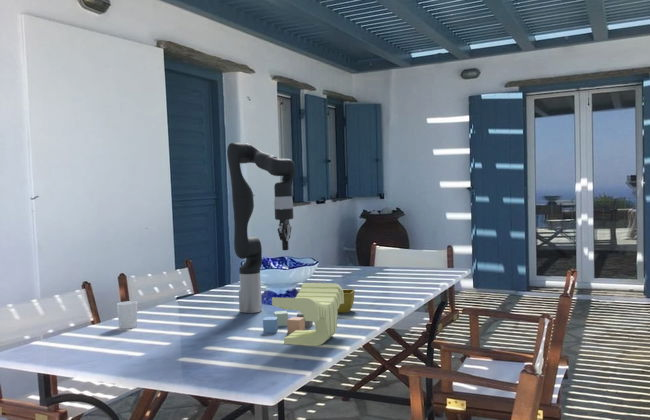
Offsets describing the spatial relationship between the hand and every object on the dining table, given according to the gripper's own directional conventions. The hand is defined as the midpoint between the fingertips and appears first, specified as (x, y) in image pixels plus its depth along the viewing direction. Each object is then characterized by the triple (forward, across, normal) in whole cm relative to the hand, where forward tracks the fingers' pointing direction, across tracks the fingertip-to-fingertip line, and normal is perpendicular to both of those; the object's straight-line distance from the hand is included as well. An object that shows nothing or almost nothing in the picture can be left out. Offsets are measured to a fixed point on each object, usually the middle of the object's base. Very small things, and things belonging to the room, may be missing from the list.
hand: (285, 250), depth 243 cm
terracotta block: (+29, +18, +8) cm, 35 cm away
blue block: (+29, +18, -2) cm, 34 cm away
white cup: (+29, +14, -64) cm, 72 cm away
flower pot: (+29, -18, +20) cm, 40 cm away
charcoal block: (+29, +8, +9) cm, 31 cm away
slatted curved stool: (+29, +30, +17) cm, 45 cm away
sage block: (+29, +7, -1) cm, 30 cm away
